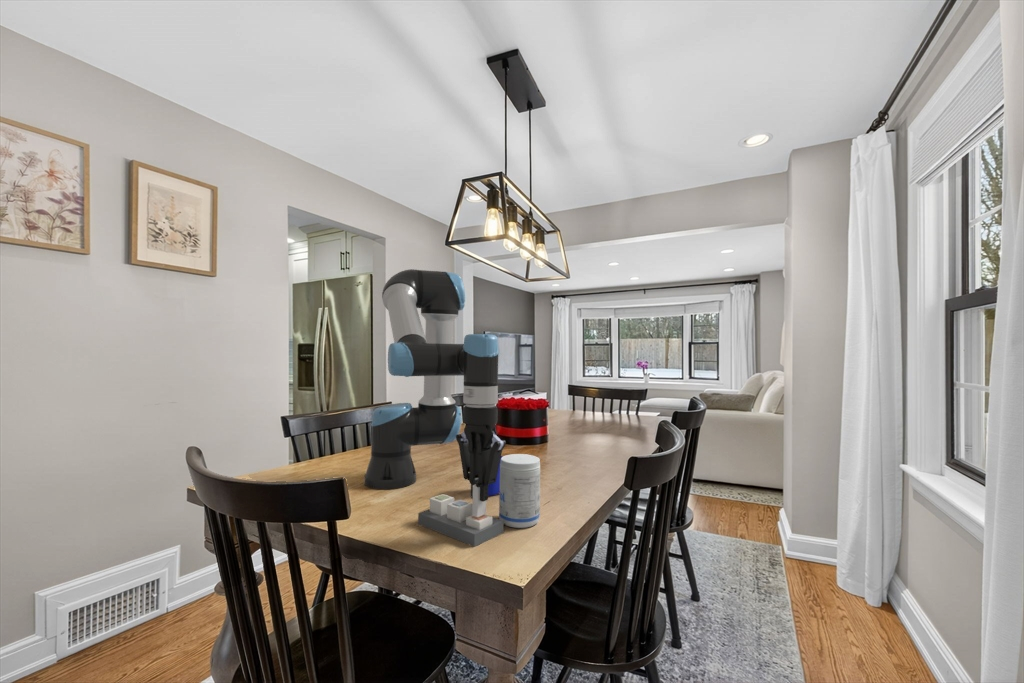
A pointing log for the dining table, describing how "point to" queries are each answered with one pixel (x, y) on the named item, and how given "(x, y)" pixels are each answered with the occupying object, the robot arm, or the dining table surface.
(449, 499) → the key
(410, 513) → the dining table surface
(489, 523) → the key
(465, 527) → the keypad base
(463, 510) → the key
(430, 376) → the robot arm
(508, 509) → the supplement tub
